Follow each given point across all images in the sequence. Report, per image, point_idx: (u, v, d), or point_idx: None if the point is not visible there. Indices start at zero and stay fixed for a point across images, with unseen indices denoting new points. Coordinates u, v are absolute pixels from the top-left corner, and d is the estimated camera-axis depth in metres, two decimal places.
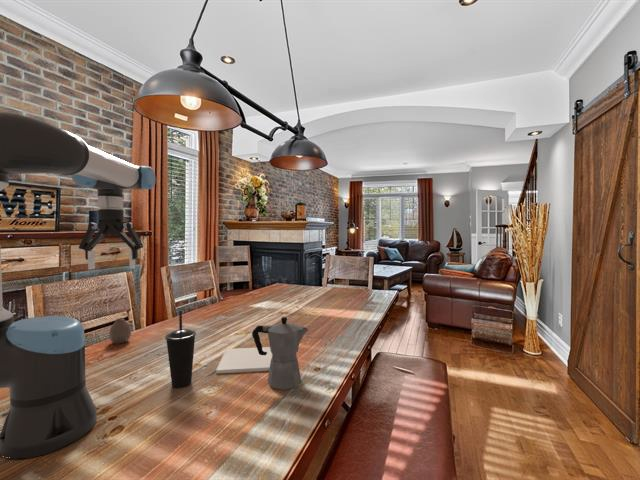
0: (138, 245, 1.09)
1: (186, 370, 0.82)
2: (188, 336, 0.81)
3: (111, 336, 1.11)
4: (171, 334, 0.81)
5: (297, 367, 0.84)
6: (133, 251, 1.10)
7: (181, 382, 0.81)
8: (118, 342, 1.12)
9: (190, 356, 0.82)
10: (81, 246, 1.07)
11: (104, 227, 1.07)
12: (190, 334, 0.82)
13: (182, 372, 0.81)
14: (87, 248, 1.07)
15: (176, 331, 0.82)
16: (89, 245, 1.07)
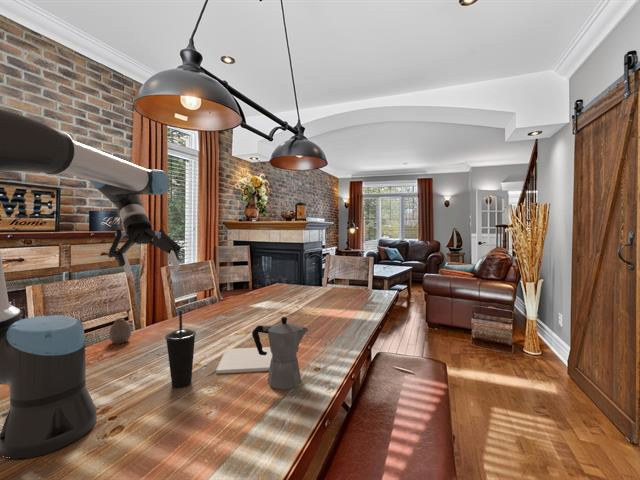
0: (178, 246, 1.02)
1: (186, 370, 0.82)
2: (188, 336, 0.81)
3: (111, 336, 1.11)
4: (171, 334, 0.81)
5: (297, 367, 0.84)
6: (174, 252, 1.00)
7: (181, 382, 0.81)
8: (118, 342, 1.12)
9: (190, 356, 0.82)
10: (113, 249, 0.88)
11: (138, 231, 0.96)
12: (190, 334, 0.82)
13: (182, 372, 0.81)
14: (121, 251, 0.89)
15: (176, 331, 0.82)
16: (123, 248, 0.90)
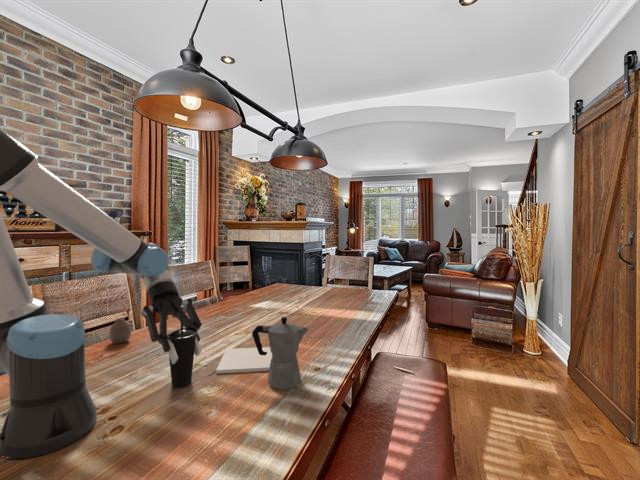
0: (199, 323, 0.88)
1: (186, 370, 0.82)
2: (189, 335, 0.81)
3: (111, 336, 1.11)
4: (172, 333, 0.81)
5: (297, 367, 0.84)
6: None
7: (181, 382, 0.81)
8: (118, 342, 1.12)
9: (191, 356, 0.82)
10: (156, 333, 0.80)
11: (165, 302, 0.86)
12: (191, 334, 0.82)
13: (182, 371, 0.81)
14: (165, 333, 0.81)
15: (177, 330, 0.82)
16: (164, 329, 0.81)
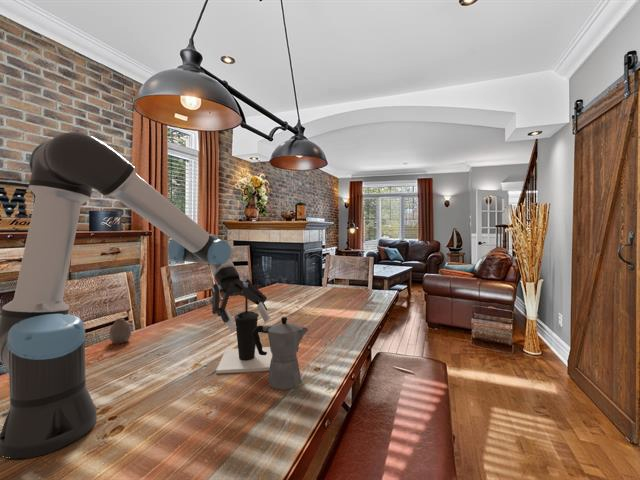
0: (264, 296, 1.06)
1: (252, 345, 0.96)
2: (254, 316, 0.96)
3: (111, 336, 1.11)
4: (240, 315, 0.96)
5: (297, 367, 0.84)
6: None
7: (248, 355, 0.96)
8: (118, 342, 1.12)
9: None
10: (217, 306, 0.93)
11: (231, 284, 1.01)
12: (255, 315, 0.97)
13: (249, 346, 0.96)
14: (224, 307, 0.94)
15: (243, 312, 0.97)
16: (224, 304, 0.95)
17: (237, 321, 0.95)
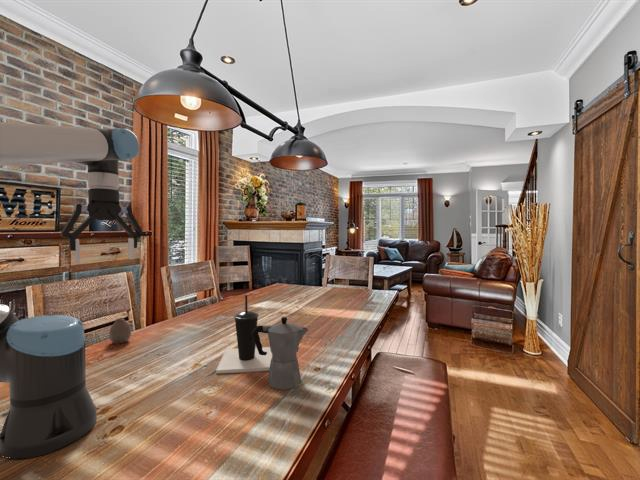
0: (141, 232, 0.97)
1: (252, 345, 0.96)
2: (254, 316, 0.96)
3: (111, 336, 1.11)
4: (239, 315, 0.96)
5: (297, 367, 0.84)
6: (134, 239, 0.96)
7: (248, 355, 0.96)
8: (118, 342, 1.12)
9: None
10: (66, 233, 0.83)
11: (101, 210, 0.89)
12: (255, 315, 0.97)
13: (249, 347, 0.96)
14: (75, 236, 0.85)
15: (243, 312, 0.97)
16: (78, 232, 0.85)
17: (237, 321, 0.95)
